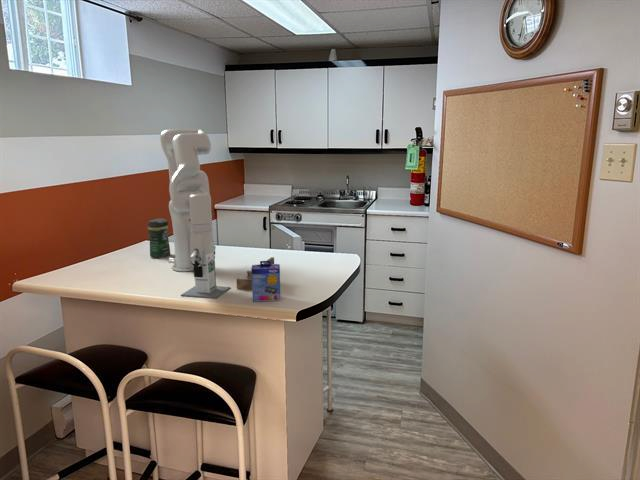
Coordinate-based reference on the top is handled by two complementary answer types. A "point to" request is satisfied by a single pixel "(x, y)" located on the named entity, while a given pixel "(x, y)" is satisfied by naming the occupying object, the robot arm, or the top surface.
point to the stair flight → (249, 279)
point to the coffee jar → (158, 238)
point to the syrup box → (206, 275)
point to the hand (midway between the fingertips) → (205, 273)
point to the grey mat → (213, 294)
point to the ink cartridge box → (266, 282)
